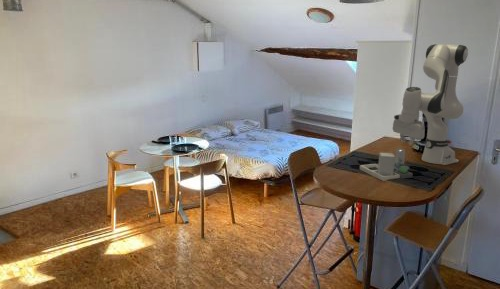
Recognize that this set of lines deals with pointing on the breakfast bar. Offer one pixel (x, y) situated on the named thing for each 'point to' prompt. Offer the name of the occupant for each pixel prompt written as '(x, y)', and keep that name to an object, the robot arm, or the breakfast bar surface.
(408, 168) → the tray
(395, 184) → the breakfast bar surface
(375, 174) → the white open frame
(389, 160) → the supplement box
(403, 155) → the cylinder
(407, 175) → the button housing
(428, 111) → the robot arm
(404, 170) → the button
